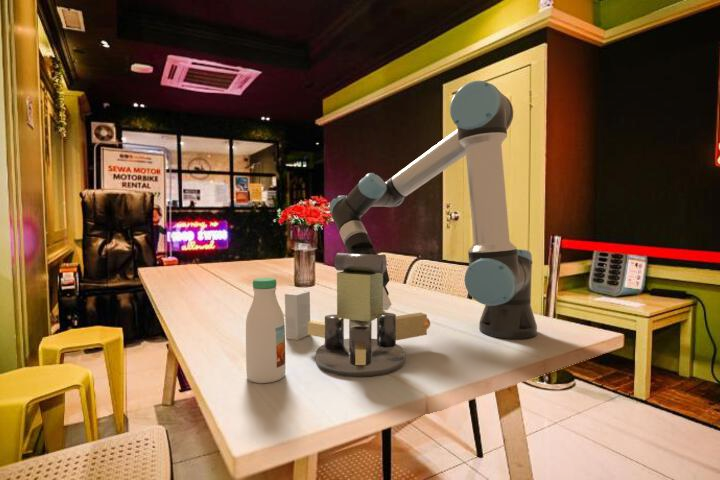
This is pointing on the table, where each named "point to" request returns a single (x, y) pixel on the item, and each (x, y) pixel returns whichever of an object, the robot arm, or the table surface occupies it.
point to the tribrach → (356, 321)
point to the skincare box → (297, 314)
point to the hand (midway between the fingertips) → (387, 307)
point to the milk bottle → (265, 334)
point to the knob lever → (400, 328)
